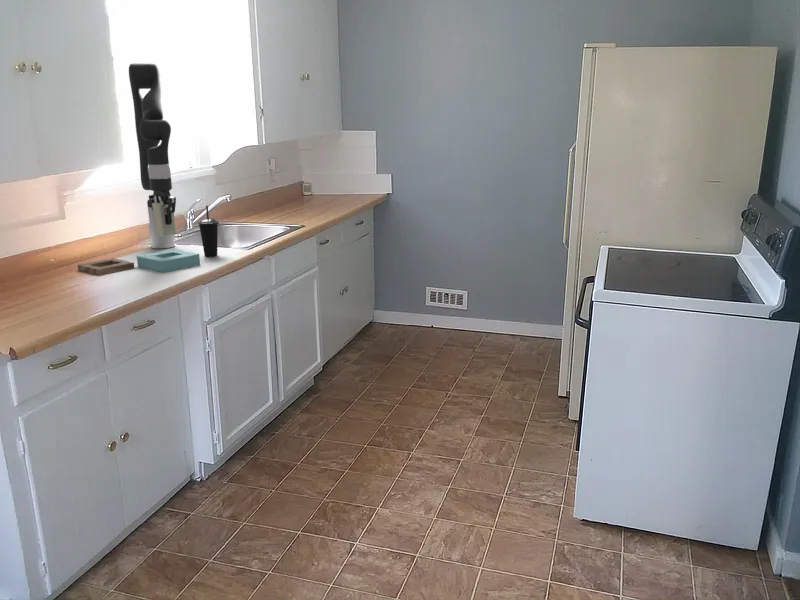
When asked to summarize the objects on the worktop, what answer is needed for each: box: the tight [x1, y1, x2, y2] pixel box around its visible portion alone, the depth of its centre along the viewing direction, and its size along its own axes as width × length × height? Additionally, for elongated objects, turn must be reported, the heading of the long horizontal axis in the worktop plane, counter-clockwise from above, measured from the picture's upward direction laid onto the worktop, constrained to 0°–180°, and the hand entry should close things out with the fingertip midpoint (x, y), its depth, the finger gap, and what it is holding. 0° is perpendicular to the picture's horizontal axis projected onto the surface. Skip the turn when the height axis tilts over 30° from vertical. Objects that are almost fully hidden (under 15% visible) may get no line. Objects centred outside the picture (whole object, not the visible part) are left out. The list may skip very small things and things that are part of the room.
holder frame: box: [77, 257, 135, 276], centre depth 256 cm, size 14×14×2 cm
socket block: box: [136, 248, 201, 273], centre depth 261 cm, size 16×16×4 cm
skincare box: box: [152, 203, 177, 237], centre depth 257 cm, size 6×4×12 cm
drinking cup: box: [197, 205, 219, 258], centre depth 274 cm, size 8×8×20 cm
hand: (164, 223), depth 257 cm, fingers closed on skincare box, 4 cm apart
